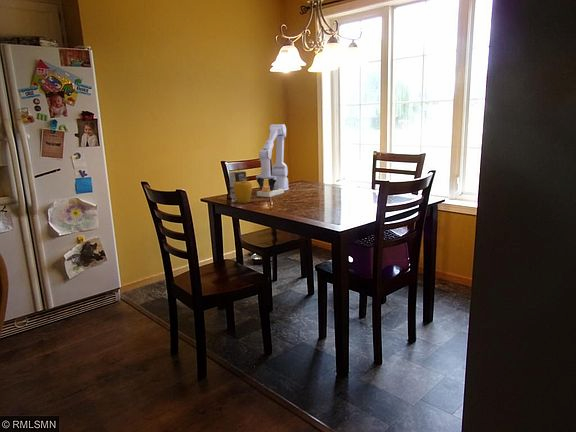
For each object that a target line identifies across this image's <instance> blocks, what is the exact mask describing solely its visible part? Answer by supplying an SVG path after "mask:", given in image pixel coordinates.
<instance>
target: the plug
mask: <svg viewBox="0 0 576 432" xmlns="http://www.w3.org/2000/svg"><path fill="white" fill-rule="evenodd" d="M261 191H262V192H267V193H268V192H271V191H270V186H269V185H265V186H264V185H263V187H262V190H261Z"/></svg>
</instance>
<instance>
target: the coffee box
mask: <svg viewBox="0 0 576 432" xmlns="http://www.w3.org/2000/svg"><path fill="white" fill-rule="evenodd" d="M246 172H247V171H243V170H242V171H240V170H238V171H232V172H229V175H228V176H229V194H230V199H235V200H237V199H236V197H235V193H234V183H236V182H242V181H247V173H246Z"/></svg>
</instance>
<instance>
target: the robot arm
mask: <svg viewBox="0 0 576 432" xmlns="http://www.w3.org/2000/svg"><path fill="white" fill-rule="evenodd" d="M268 131H269V136H268V139H267V140H266V141H265V142H264V144H263V147H262V149H260V150H259V152H258V158H259V161H260V168H261V169H260V170H261V174H258V175H255V178H256V182H257V183H258V185H259V189H260V190H259V191H262V187H264V181H265V180H268V184H269V185H270V191H273V188H274V184H278V188H279V189H284V192H285V191H288V190H290V188H289V179H288V177H287V176H288V174H289V170H288V169H289V168H288V165H287V164H286V163H285V162H284V158H285V157H284V156H285V155H284V153H285V152H284V151H285V138H286V137H287V127H286V125H285V124H284V123H282V124H273V123H272V124H270V125H269V130H268ZM275 140H276V151H275V153H276V154H275V155H276V158H275V163H274V164H273V165H272V168H271V158H272V157H273V156H272V155H273V148H274V146H275V143H274V142H275Z"/></svg>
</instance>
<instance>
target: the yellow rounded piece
mask: <svg viewBox="0 0 576 432" xmlns="http://www.w3.org/2000/svg"><path fill="white" fill-rule="evenodd" d="M234 193H235V197H236V199H235V200H236V201H237V202H239V203H242V204H245V203H248V202H250V199H251V197H252V193H253V185H252V182H250V181H247V180H246V181H242V182H236V183H234Z"/></svg>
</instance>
